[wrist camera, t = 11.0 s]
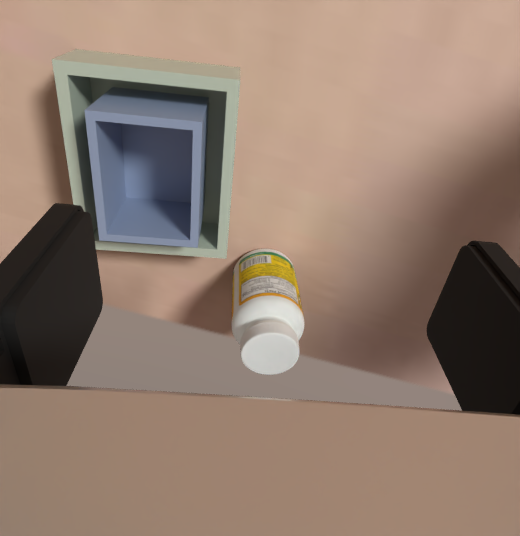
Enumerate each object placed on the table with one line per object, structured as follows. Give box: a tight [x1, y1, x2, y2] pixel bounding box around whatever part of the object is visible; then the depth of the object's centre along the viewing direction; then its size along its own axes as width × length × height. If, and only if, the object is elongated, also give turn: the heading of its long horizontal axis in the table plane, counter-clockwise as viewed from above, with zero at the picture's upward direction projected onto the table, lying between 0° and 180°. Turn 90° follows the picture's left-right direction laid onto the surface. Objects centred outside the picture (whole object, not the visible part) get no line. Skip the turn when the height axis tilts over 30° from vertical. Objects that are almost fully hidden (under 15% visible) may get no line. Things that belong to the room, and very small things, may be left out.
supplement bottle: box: [231, 249, 304, 375], centre depth 32 cm, size 5×5×10 cm
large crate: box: [52, 49, 240, 259], centre depth 29 cm, size 10×12×4 cm
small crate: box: [84, 87, 209, 248], centre depth 27 cm, size 6×8×6 cm
